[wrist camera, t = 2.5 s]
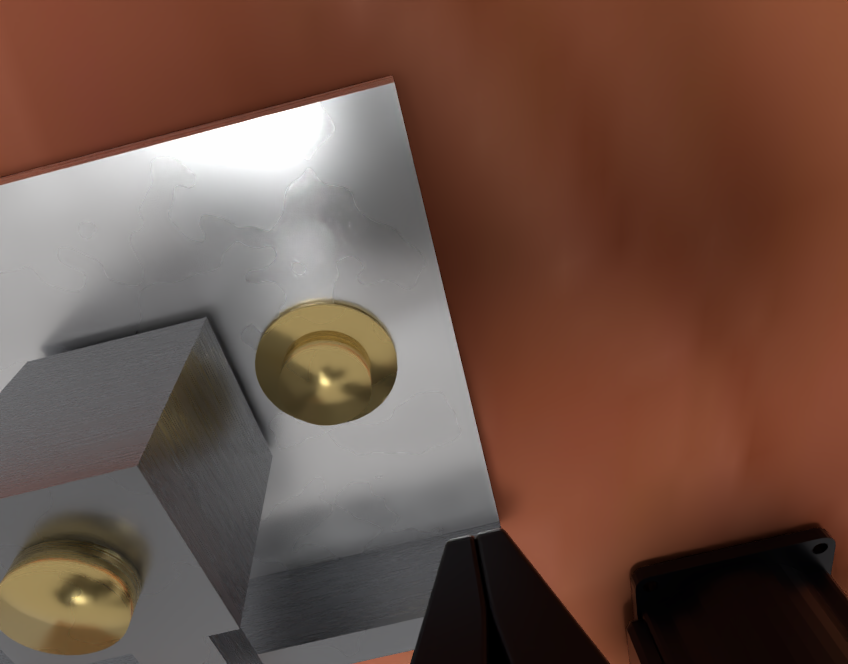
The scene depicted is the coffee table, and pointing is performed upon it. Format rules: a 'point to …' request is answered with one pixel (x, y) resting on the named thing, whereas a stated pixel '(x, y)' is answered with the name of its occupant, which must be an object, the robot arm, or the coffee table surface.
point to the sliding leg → (129, 503)
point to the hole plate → (280, 342)
